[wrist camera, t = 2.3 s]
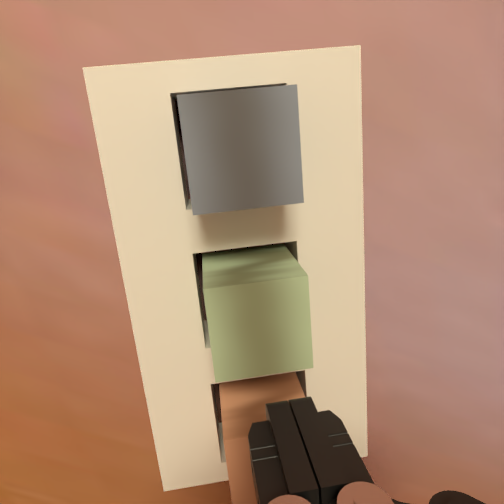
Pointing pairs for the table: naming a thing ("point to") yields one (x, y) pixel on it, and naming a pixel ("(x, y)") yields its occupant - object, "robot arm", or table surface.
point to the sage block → (257, 312)
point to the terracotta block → (249, 423)
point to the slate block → (242, 148)
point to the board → (232, 238)
